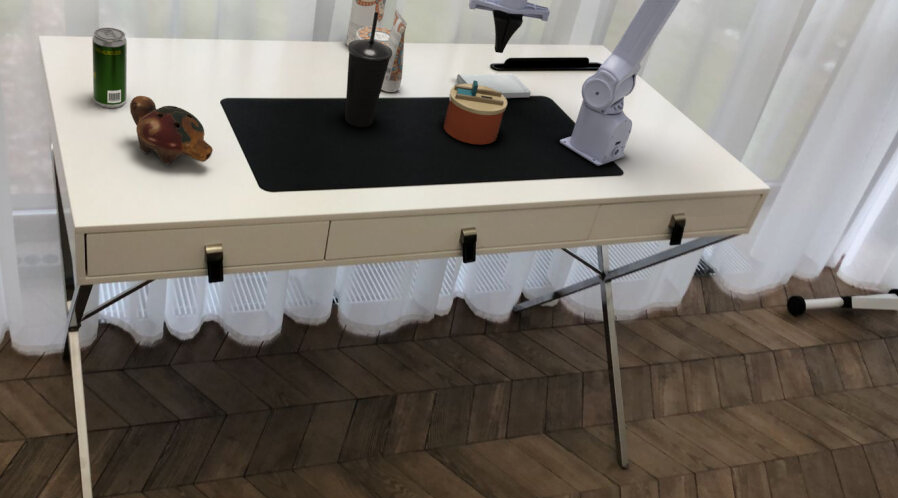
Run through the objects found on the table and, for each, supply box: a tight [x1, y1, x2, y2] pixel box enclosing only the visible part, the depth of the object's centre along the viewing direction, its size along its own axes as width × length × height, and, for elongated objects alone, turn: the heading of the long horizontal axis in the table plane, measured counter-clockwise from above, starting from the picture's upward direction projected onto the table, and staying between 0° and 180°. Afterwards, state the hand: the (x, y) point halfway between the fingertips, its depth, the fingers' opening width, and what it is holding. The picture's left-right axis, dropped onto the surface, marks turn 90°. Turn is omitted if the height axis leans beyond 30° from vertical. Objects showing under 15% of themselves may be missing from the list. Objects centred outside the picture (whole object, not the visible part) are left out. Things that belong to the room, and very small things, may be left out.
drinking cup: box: [344, 12, 393, 128], centre depth 167 cm, size 8×8×20 cm
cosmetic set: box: [346, 0, 408, 93], centre depth 187 cm, size 25×9×19 cm, turn 18°
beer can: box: [91, 27, 128, 109], centre depth 161 cm, size 5×5×12 cm
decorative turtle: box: [129, 95, 214, 165], centre depth 152 cm, size 10×15×8 cm, turn 68°
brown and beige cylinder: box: [443, 83, 508, 146], centre depth 175 cm, size 10×10×8 cm
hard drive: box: [456, 73, 532, 99], centre depth 192 cm, size 2×8×12 cm
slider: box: [457, 81, 478, 96], centre depth 172 cm, size 3×2×2 cm
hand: (498, 50), depth 182 cm, fingers closed
